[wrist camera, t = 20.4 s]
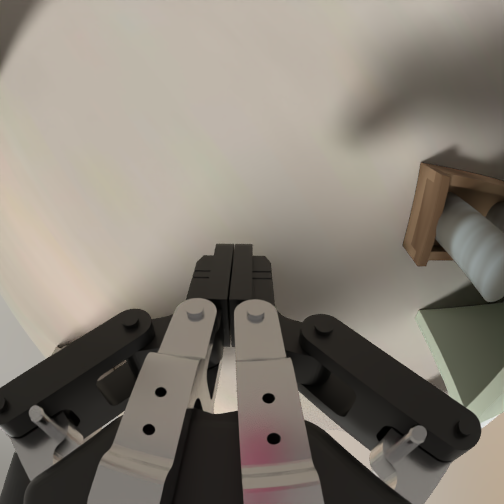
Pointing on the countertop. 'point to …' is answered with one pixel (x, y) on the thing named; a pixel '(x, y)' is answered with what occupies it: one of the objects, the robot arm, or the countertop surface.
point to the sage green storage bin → (469, 354)
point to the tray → (436, 203)
